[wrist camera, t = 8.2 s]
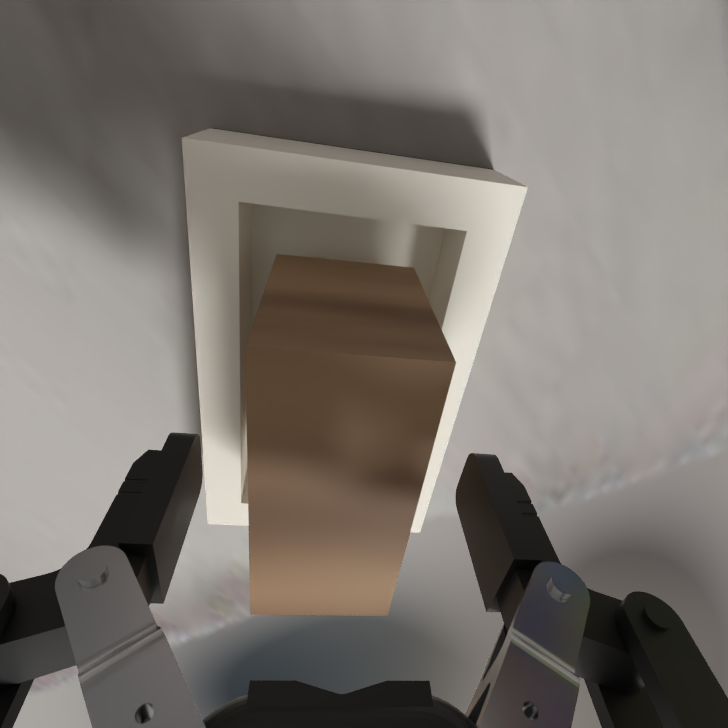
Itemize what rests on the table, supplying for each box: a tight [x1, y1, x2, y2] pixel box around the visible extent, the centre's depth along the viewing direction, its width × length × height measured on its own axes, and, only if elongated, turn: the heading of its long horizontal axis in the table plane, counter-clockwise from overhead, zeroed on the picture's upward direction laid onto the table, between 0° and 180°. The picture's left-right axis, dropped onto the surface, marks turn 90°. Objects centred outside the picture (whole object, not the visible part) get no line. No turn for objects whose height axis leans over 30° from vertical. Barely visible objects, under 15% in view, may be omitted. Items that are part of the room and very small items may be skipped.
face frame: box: [182, 128, 528, 533], centre depth 18 cm, size 16×10×3 cm, turn 172°
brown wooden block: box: [245, 254, 456, 616], centre depth 15 cm, size 10×4×6 cm, turn 173°
